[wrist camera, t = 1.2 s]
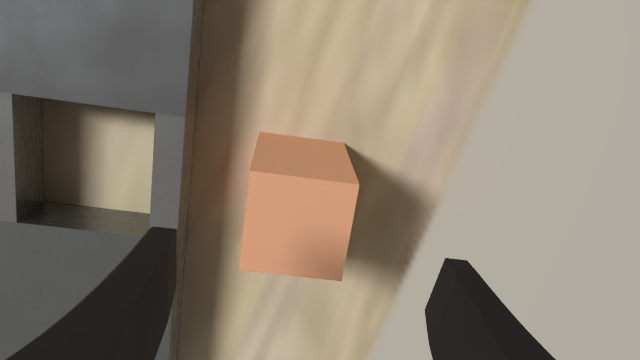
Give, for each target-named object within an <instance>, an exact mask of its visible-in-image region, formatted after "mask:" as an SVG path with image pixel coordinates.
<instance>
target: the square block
mask: <svg viewBox="0 0 640 360" xmlns="http://www.w3.org/2000/svg"><path fill="white" fill-rule="evenodd" d="M358 191H359V182H358V179H357V177H356V174H355V171H354V168H353V166H352V163H351V160H350V158H349V155H348V152H347V150H346V147H345V144H344V143H340V142H332V141H325V140H318V139H310V138H303V137H295V136H288V135H281V134H273V133H266V132H260V133H259V137H258V141H257V145H256V149H255V152H254V156H253V160H252V164H251V168H250V172H249V181H248V190H247V199H246V207H245V216H244V225H243V234H242V243H241V252H240V260H239V269H238V270H244V271H254V272H263V273H272V274H281V275H290V276H299V277H309V278H318V279H327V280H336V281H342V277H343V271H344V266H345V260H346V255H347V250H348V244H349V239H350V234H351V228H352V223H353V218H354V212H355V207H356V201H357V196H358Z"/></svg>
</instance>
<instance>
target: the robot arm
mask: <svg viewBox="0 0 640 360" xmlns="http://www.w3.org/2000/svg"><path fill="white" fill-rule="evenodd" d="M176 269H177V229H172V228H163V227H154V226H153V227H151V228H150V229H148V230H147V232H146V233H145V234H144V236H143V237H142V238H141V239H140V240H139V242H138V243H137V244H136V245H135V246H134V247H133V249H132V250H131V251H130V252H129V253H128V254H127V255H126V256H125V258H124V259H123V260H122V261H121V262H120V263H119V264H118V265H117V266H116V267H115V268H114V269H113V270H112V271H111V272H110V273H109V274H108V275H107V277H106V278H105V279H104V280H103V281H102V282H101V283H100V284H99V285H98V286H96V287H95V288H94V289H93V290H92V291H91V292H90V293H89V294H88V295H87V296H86V297H85V298H84V299H82V300H81V301H80V302H79V303H78V304H77V305H76V306H75V307H74V308H73V309H71V310H70V311H69V312H68V313H67V314H66V315H64V316H63V317H62V318H61V319H60V320H58V321H57V322H56V323H55V324H53V325H52V326H51V327H50V328H48V329H47V330H46V331H44V332H43V333H42V334H41V335H39V336H38V337H36V338H35V339H34V340H32V341H31V342H30V343H28V344H27V345H25V346H24V347H23V348H21V349H20V350H19V351H17V352H16V353H14V354H13V355H11V356H10V357H8V358H7V359H5V360H155V357H156V354H157V351H158V349H159V346H160V343H161V340H162V337H163V334H164V332H165V329H166V326H167V323H168V320H169V315H170V311H171V307H172V303H173V298H174V294H175V289H176ZM425 315H426V324H427V332H428V339H429V345H430V350H431V354H432V358H433V360H556V359H554V358H553V357H552V356H551V355H550V354H549V353H548V352H547V351H546V350H545V349H544V348H543V347H542V346H541V345H540V343H538V341H537V340H536V339H535V338H534V337H533V336H532V335H531V334H530V333H529V332H528V331H527V330H526V329H525V328H524V327H523V325H521V323H520V322H519V321H518V320H517V319H516V318H515V317H514V315H513V314H512V313H511V312H510V311H509V310H508V309H507V307H506V306H505V305H504V304H503V303H502V302H501V301H500V299H499V298H498V297H497V296H496V294H495V293H494V292H493V291H492V290H491V289H490V287H489V286H488V285H487V284H486V283H485V281H484V280H483V279H482V278H481V276H480V275H479V274H478V273H477V272H476V270H475V269H474V268H473V267H472V266H471V265H470V263H469V262H468V261H466V260H457V259H449V258H445V260H444V263H443V265H442V268H441V270H440V273H439V276H438V278H437V280H436V283H435V286H434V288H433V291H432V293H431V296H430V298H429V301H428V303H427V306H426V308H425Z"/></svg>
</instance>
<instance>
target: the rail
mask: <svg viewBox="0 0 640 360" xmlns="http://www.w3.org/2000/svg"><path fill="white" fill-rule="evenodd" d="M203 9H204V0H0V360H5V359H7V358H8V357H10V356H11V355H13V354H14V353H16V352H17V351H19V350H20V349H21V348H23V347H24V346H25V345H27V344H28V343H30V342H31V341H32V340H34V339H35V338H36V337H38V336H39V335H41V334H42V333H43V332H44V331H46V330H47V329H48V328H50V327H51V326H52V325H53V324H55V323H56V322H57V321H58V320H60V319H61V318H62V317H63V316H64V315H66V314H67V313H68V312H69V311H70V310H71V309H73V308H74V307H75V306H76V305H77V304H78V303H79V302H80V301H81V300H82V299H84V298H85V297H86V296H87V295H88V294H89V293H90V292H91V291H92V290H93V289H94V288H95V287H96V286H98V285H99V284H100V283H101V282H102V281H103V280H104V279H105V278H106V277H107V275H108V274H109V273H110V272H111V271H112V270H113V269H114V268H115V267H116V266H117V265H118V264H119V263H120V262H121V261H122V260H123V259H124V258H125V256H126V255H127V254H128V253H129V252H130V251H131V250H132V249H133V247H134V246H135V245H136V244H137V243H138V242H139V240H140V239H141V238H142V237H143V236H144V234H145V233H146V232H147V230H148V229H150V228H151V227H153V226H154V227H163V228H172V229H177V269H176V289H175V294H174V298H173V303H172V307H171V311H170V315H169V320H168V323H167V326H166V329H165V332H164V334H163V337H162V340H161V343H160V346H159V349H158V351H157V354H156V357H155V360H177V352H178V339H179V326H180V313H181V300H182V286H183V273H184V260H185V247H186V233H187V220H188V207H189V194H190V181H191V167H192V154H193V141H194V128H195V115H196V101H197V88H198V75H199V62H200V49H201V35H202V22H203ZM41 98H47V99H54V100H61V101H69V102H76V103H84V104H91V105H98V106H106V107H113V108H120V109H128V110H135V111H142V112H150V113H155V131H154V151H153V171H152V191H151V210H150V214H145V213H137V212H128V211H120V210H111V209H103V208H94V207H85V206H77V205H68V204H60V203H51V202H43V155H42V106H41Z"/></svg>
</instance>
